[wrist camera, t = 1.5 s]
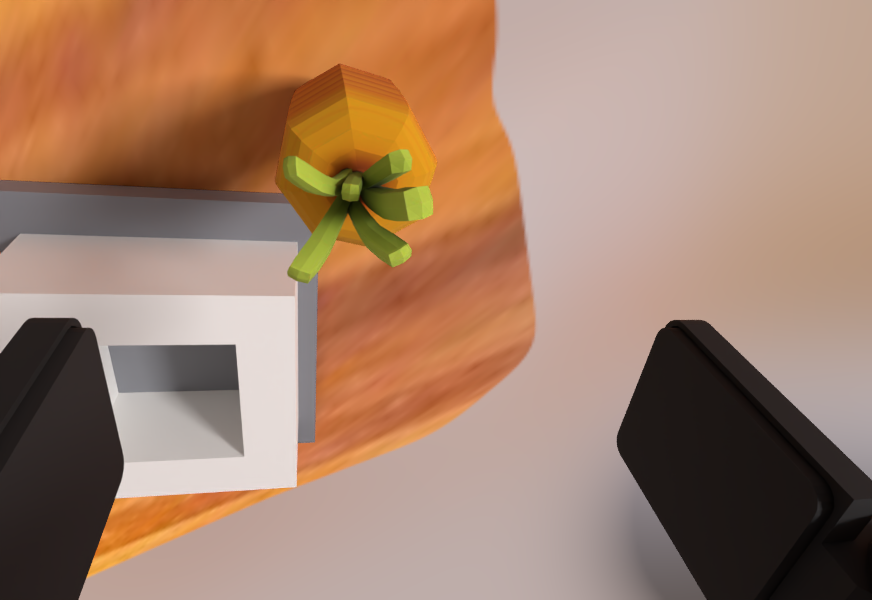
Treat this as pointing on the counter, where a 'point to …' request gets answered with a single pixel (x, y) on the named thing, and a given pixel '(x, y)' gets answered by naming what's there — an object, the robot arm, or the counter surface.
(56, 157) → the counter surface
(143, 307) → the socket stand
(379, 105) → the carrot
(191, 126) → the counter surface
